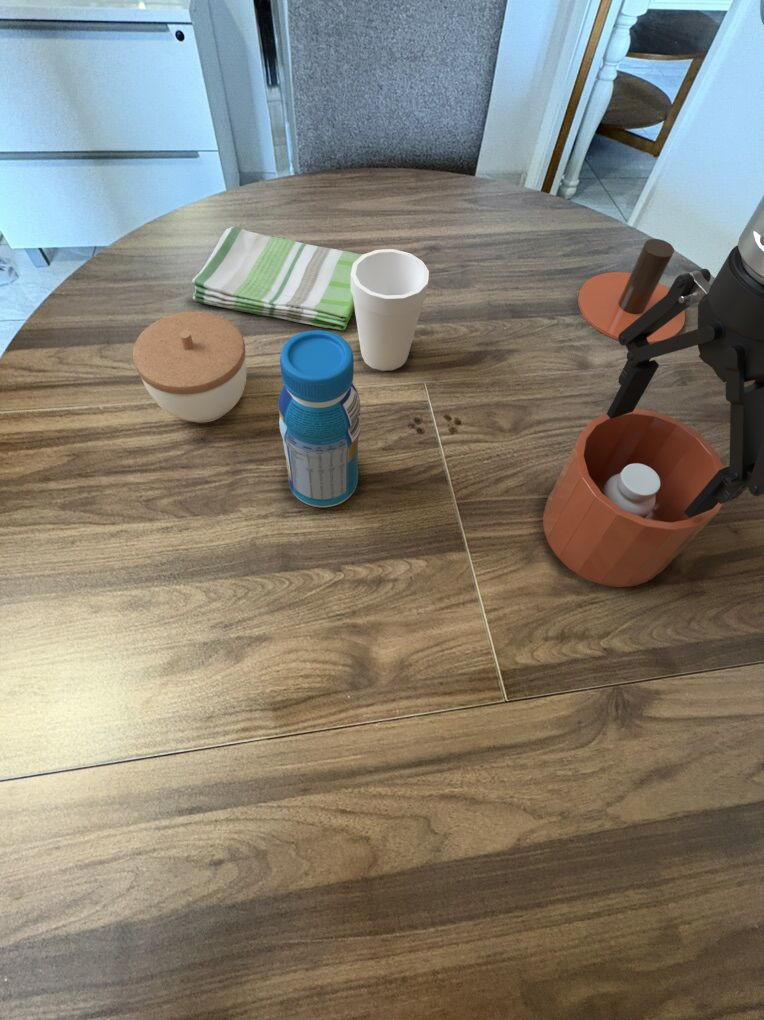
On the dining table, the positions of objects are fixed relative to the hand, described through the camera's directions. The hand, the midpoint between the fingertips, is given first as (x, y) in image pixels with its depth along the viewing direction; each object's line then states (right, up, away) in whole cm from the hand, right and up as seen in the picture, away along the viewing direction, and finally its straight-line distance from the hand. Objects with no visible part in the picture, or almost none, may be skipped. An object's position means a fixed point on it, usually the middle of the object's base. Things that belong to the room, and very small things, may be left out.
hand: (656, 459), depth 60 cm
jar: (-1, -7, +11) cm, 13 cm away
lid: (+10, +25, +32) cm, 42 cm away
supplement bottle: (-1, -7, +11) cm, 13 cm away
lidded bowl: (-49, +9, +19) cm, 54 cm away
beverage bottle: (-34, -2, +13) cm, 36 cm away
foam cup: (-26, +16, +25) cm, 40 cm away
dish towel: (-41, +29, +32) cm, 60 cm away
